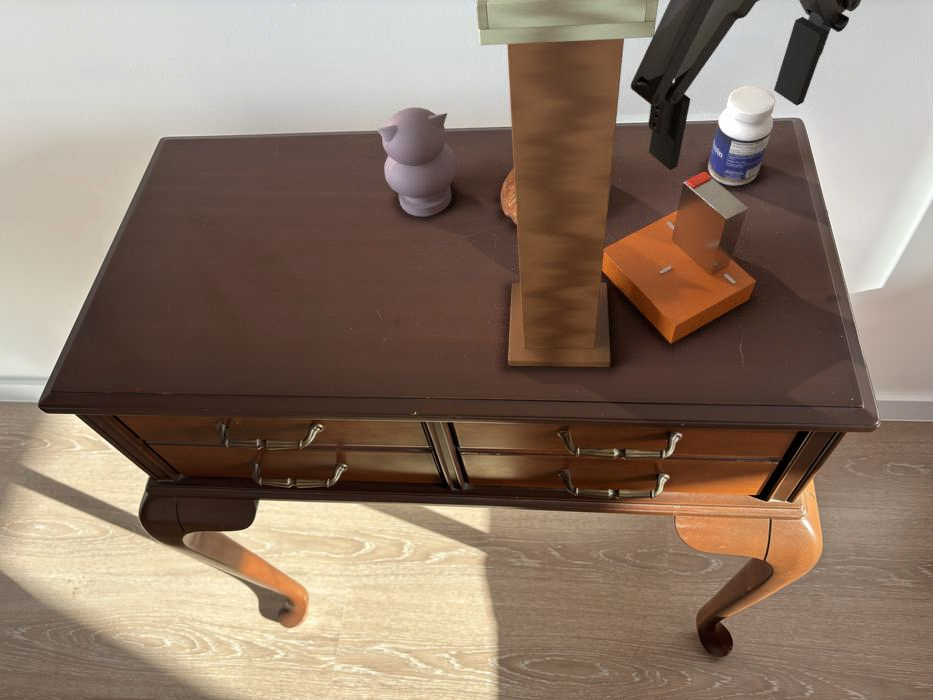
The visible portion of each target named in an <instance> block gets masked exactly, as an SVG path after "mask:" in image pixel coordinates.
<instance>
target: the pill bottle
mask: <svg viewBox="0 0 933 700" xmlns="http://www.w3.org/2000/svg"><path fill="white" fill-rule="evenodd" d="M775 105H776V98H775V95H774V94H773V93H772V91H770V90H769V89H767V88H764V87H761V86H758V85H744V86H740V87H738V88H736V89H735V90H733V91H731V93H730V94H729V97H728V101H727V104H726V108H725V109H724V110H723V111H722V112H721V114H720V116H719V117H718V122H717V125H716V130H715V134H714V137H713V141H712V148H711V151H710V155H709V159H708V165H707V168H708V169H707V170H708V172H709V175H710V176H711V177H712V178H713V179H714V180H715V181H716V182H718V183H721V184H724V185H727V186H735V187H736V186H743V185H746V184H749V183H750V182H752V181H753V180H755V179H756V178H757V176H758V174H759V171H760V168H761V166H762V162H763V159H764V156H765V153H766V150H767V146H768V143H769V140H770V137H771V133H772V131H773V127H774V119H773V116H772V114H773V112H774V110H775V109H774V108H775Z"/></svg>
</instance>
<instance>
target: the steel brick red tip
mask: <svg viewBox="0 0 933 700" xmlns="http://www.w3.org/2000/svg"><path fill="white" fill-rule="evenodd" d="M680 192H681V193H680V197H679V202H678V207H677V210H676V211H677V216H676V221H675V225H674V230H673V235H672V240H673V241H674V242H675V243H676V244H677V245H678V246H679V247H680V248H681V249H682V250H683V251H684V252H686V253H687V254H688V255H689V256H690V257H691V258H692V259H693V260H694V261H695V262H696V263H697V264H698V265H699V266H700V267H702V268H703V269H704V270H705V271H706V272H707V273H708V274H709V275H712V274H714V273H715V272H717V271H719V270H721V269H723V268H724V267H726V266H728V265H729V264H730V261H731V259H733V255H734V252H735V249H736V246H737V243H738V240H739V236H740V233H741V230H742V226H743V225H744V221H745V219H746V218H745V217H746V214H747V211H748V208H749V207H748V206H746V204H745V203H743V202H742V201H741V200H739V199H738V198H737V197H736V196H735V195H733V194H732V193H731V192H730V191H729V190H727V189H726V188H725V187H723V186H722V185H721V184H720V182H718V181H717V180H716V179H714V178H713V177H712V176H711V174H710V173H708V172H706V171H703V172H700V173H698V174H697V175H695V176H692V177H691V178H689V179H687V180H684V181H683V183H682V188H681V191H680Z"/></svg>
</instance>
